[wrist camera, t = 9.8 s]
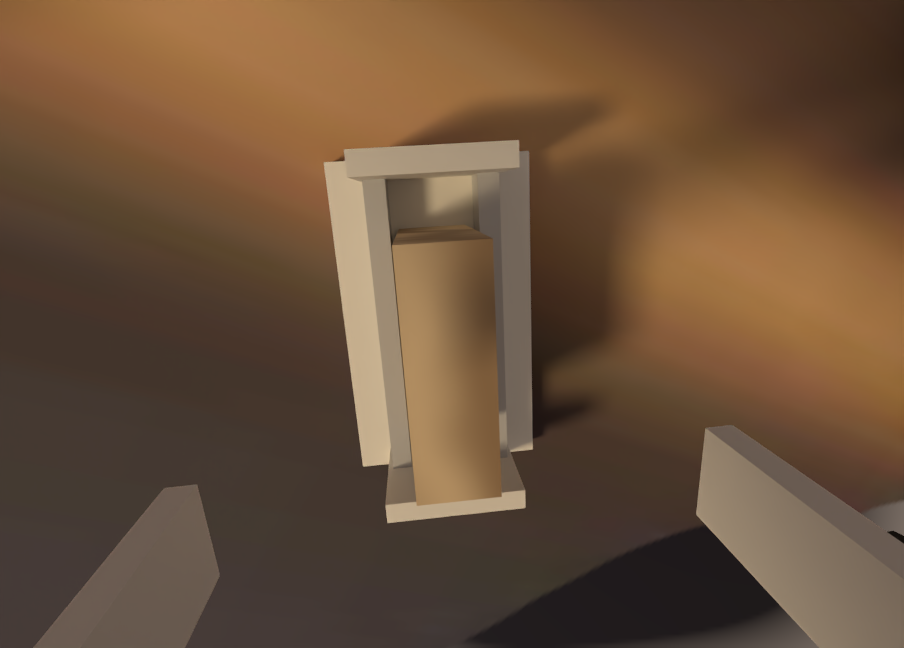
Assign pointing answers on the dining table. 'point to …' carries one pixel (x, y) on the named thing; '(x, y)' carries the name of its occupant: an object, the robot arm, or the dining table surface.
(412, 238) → the door panel
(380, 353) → the track
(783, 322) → the dining table surface
